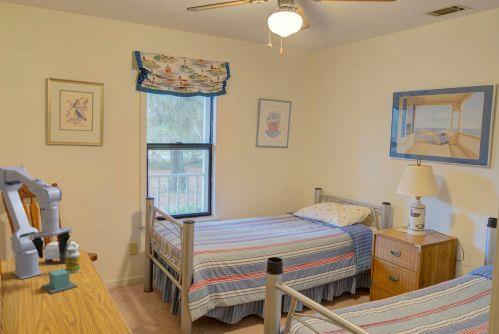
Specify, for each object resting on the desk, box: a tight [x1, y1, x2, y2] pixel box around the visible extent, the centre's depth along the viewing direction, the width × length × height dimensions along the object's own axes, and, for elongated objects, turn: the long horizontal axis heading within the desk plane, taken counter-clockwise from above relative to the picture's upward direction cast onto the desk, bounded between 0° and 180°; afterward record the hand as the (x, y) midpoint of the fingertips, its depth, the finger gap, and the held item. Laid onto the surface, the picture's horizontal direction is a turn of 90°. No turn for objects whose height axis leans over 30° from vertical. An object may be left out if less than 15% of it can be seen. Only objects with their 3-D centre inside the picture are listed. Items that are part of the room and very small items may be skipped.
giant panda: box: [43, 239, 81, 265], centre depth 171 cm, size 15×6×10 cm, turn 105°
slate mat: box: [41, 280, 78, 295], centre depth 145 cm, size 9×9×1 cm
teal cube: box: [48, 268, 70, 289], centre depth 144 cm, size 5×5×5 cm
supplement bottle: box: [65, 247, 81, 274], centre depth 161 cm, size 5×5×10 cm
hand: (51, 255), depth 148 cm, fingers open, 7 cm apart
